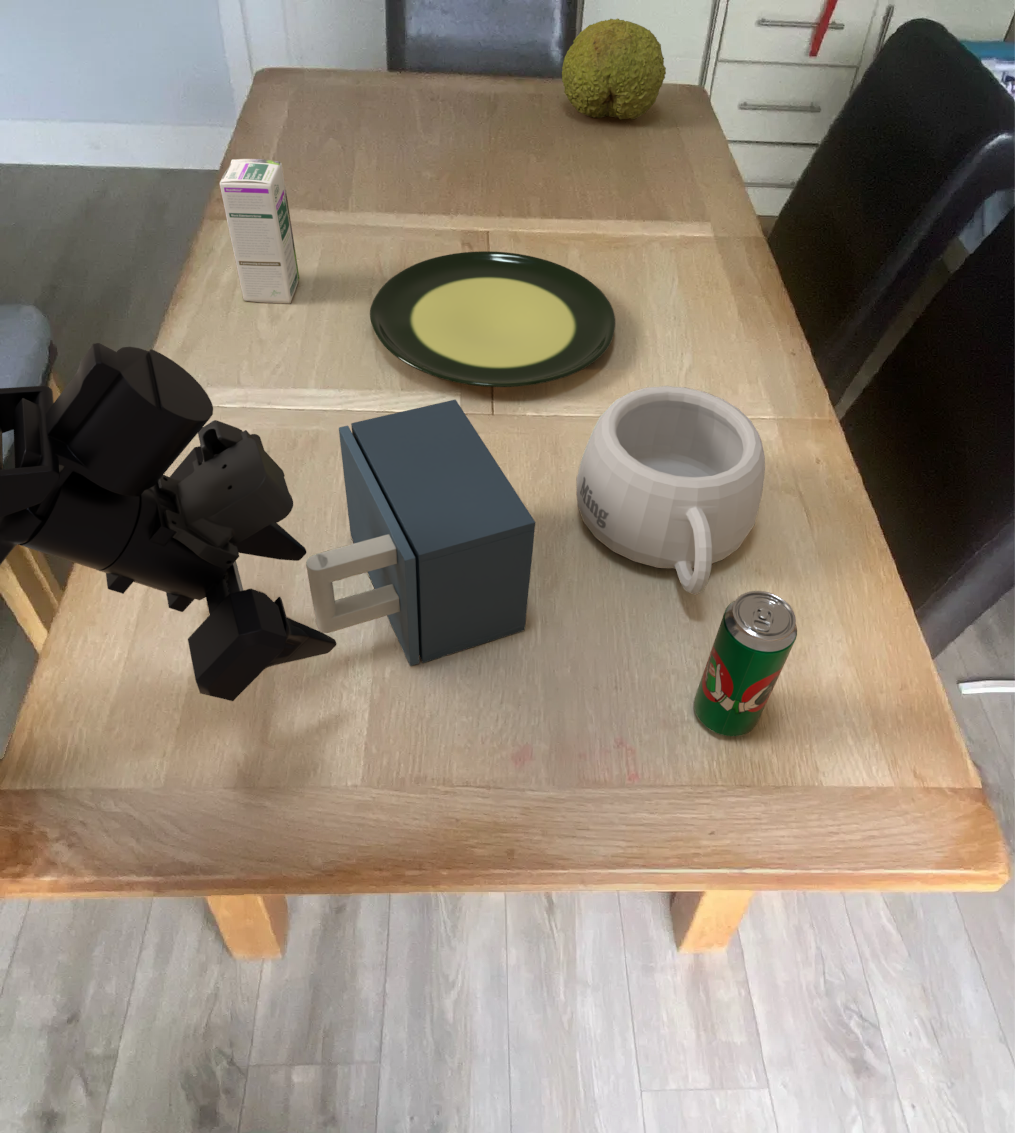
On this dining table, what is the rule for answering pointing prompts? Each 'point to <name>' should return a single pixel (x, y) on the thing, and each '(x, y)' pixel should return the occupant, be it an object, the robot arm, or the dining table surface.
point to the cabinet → (453, 525)
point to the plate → (493, 319)
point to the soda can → (745, 662)
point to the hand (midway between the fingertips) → (317, 599)
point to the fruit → (613, 70)
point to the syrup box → (260, 229)
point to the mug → (672, 480)
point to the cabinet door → (367, 561)
